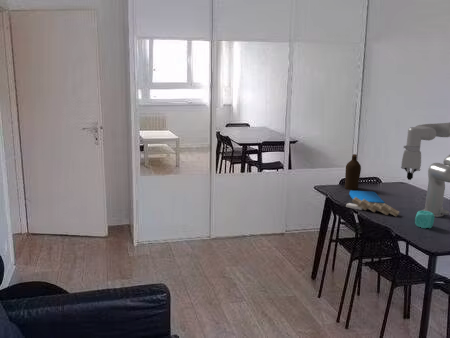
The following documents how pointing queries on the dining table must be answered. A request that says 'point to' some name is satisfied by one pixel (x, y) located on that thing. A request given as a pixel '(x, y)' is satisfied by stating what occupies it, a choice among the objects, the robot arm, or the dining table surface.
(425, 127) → the robot arm
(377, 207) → the domino
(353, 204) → the end domino
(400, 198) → the dining table surface
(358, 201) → the domino
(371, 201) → the book
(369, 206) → the domino
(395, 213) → the domino
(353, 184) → the olive oil
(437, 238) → the dining table surface
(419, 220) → the decorative dice
